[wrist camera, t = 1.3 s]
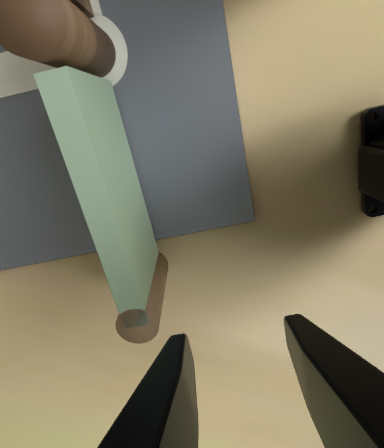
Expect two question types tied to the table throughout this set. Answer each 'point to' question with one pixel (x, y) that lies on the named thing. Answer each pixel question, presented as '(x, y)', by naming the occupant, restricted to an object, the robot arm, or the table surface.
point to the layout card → (131, 132)
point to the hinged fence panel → (108, 194)
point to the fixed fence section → (56, 34)
